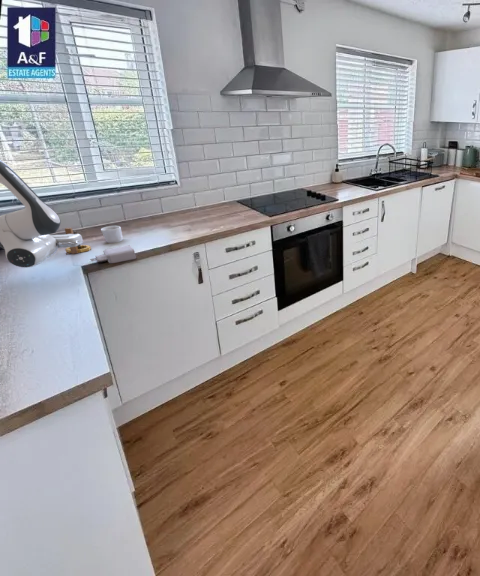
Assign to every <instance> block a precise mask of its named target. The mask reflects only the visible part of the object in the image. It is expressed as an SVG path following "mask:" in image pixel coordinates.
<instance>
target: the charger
mask: <svg viewBox="0 0 480 576" xmlns="http://www.w3.org/2000/svg"><path fill="white" fill-rule="evenodd" d="M102 252H103V253H102V254H98V255H95V257H94V258H90V259H89V260H90V262H95V261H97V263H103V262H107V263H108V264H115V263H122V262H126V261H131V260H136V259H137V256H136V251H135V250H134V248H133V247H132V245H130V244H127V245H123V246H122V245H121V246H117V247H112V248H111V247H110V248H105V249H104V250H103V251H102Z"/></svg>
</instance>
